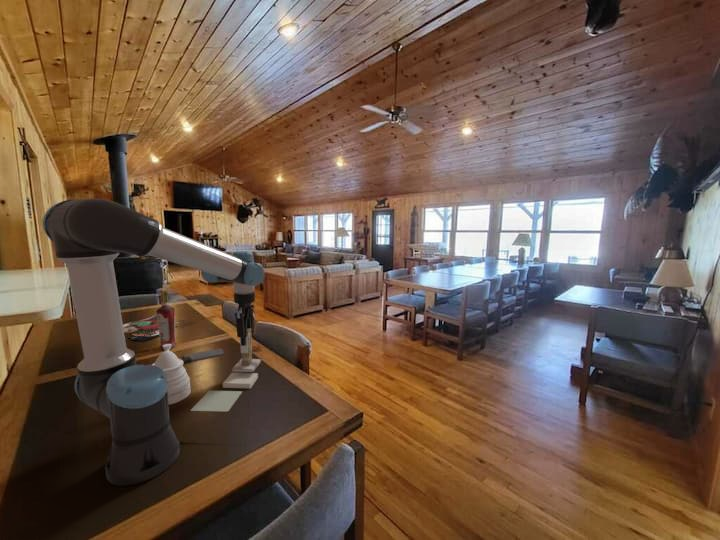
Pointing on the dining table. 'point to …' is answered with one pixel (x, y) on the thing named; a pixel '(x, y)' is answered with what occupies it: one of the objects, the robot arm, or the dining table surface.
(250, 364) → the wooden handled stamp
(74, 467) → the dining table surface
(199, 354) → the cleaver
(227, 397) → the mat
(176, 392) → the honey pot
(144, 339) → the multicoloured flat piece
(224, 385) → the tile
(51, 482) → the dining table surface
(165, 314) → the dark red glass bottle
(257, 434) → the dining table surface
